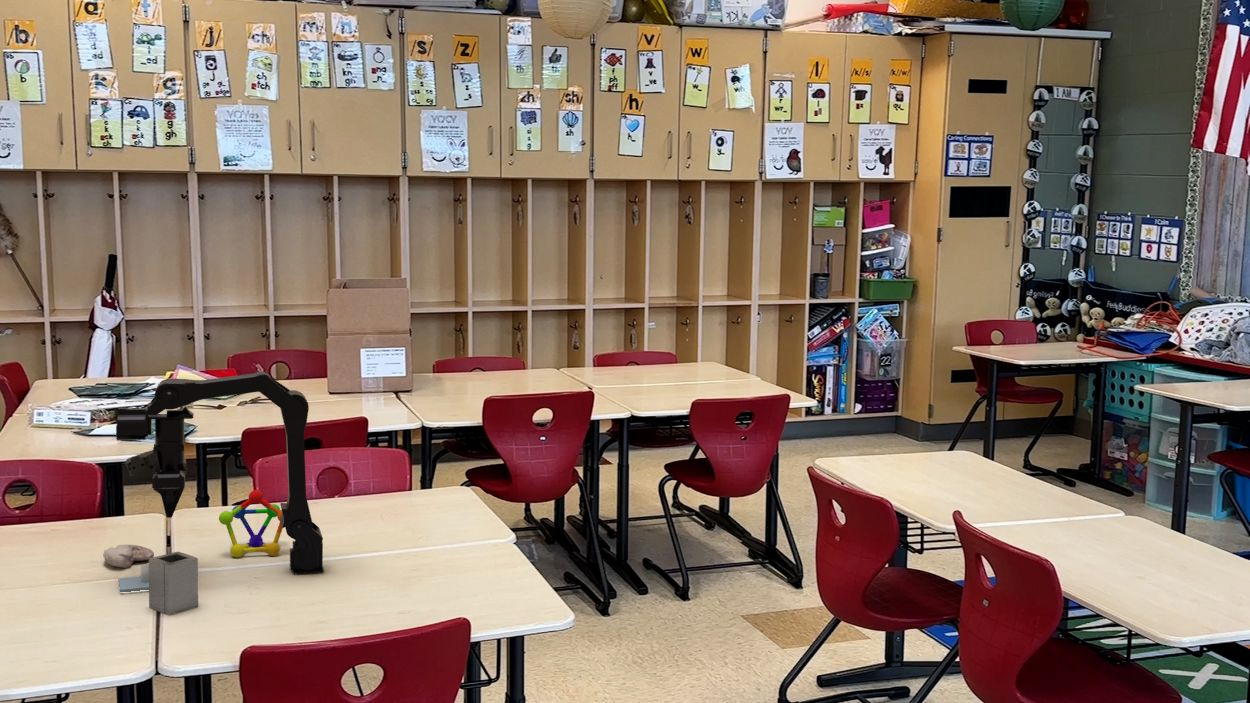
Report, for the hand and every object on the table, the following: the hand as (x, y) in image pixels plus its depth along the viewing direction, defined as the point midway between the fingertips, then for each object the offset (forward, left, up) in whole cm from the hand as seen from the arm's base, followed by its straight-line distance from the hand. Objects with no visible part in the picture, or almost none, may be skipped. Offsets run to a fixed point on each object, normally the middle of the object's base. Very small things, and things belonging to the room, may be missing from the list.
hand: (169, 511), depth 247 cm
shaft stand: (+5, +4, -15) cm, 16 cm away
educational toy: (-17, -17, -15) cm, 29 cm away
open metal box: (-1, +19, -15) cm, 24 cm away
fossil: (+10, -14, -15) cm, 23 cm away
